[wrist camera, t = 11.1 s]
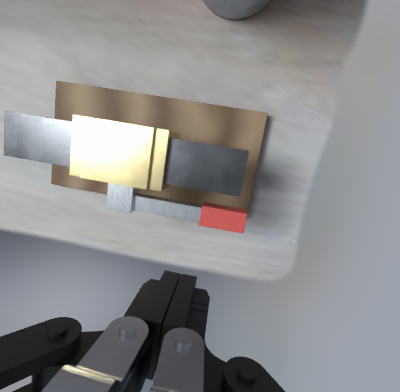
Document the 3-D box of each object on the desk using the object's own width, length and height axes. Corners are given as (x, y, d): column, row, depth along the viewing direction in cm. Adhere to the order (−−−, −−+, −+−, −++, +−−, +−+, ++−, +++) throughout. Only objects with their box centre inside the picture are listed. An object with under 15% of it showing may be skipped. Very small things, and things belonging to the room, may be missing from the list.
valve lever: (105, 209, 26) (243, 234, 25) (108, 181, 25) (248, 206, 24) (115, 203, 28) (241, 226, 27) (118, 178, 27) (246, 201, 27)
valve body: (67, 157, 35) (-6, 162, 24) (69, 115, 34) (-5, 102, 23) (236, 186, 33) (239, 206, 22) (244, 144, 32) (251, 143, 21)
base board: (58, 182, 37) (51, 183, 36) (63, 83, 35) (56, 80, 33) (245, 216, 35) (246, 219, 34) (266, 114, 33) (267, 113, 31)
